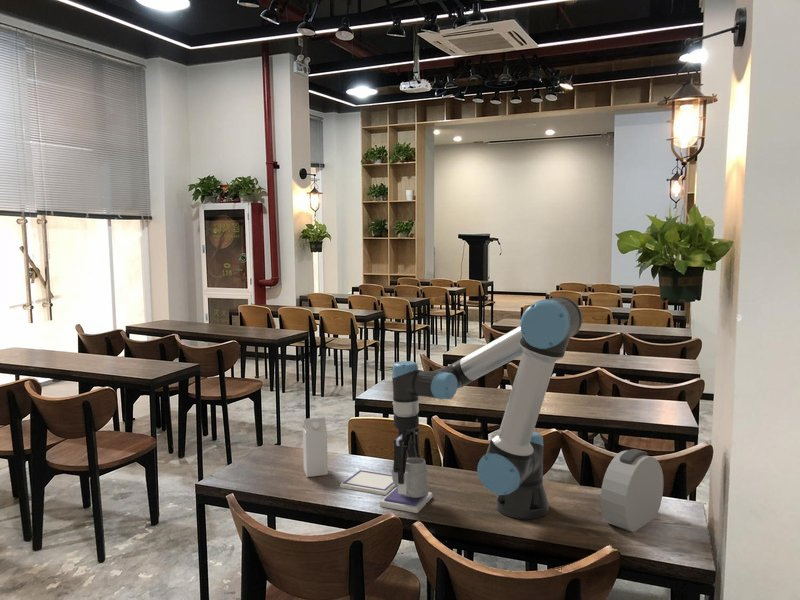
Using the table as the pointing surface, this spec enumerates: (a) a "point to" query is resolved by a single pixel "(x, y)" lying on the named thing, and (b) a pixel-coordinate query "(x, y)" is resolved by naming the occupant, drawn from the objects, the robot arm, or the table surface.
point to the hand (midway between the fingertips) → (407, 488)
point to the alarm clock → (631, 490)
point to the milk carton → (315, 447)
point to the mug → (414, 477)
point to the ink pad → (404, 501)
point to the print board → (369, 482)
